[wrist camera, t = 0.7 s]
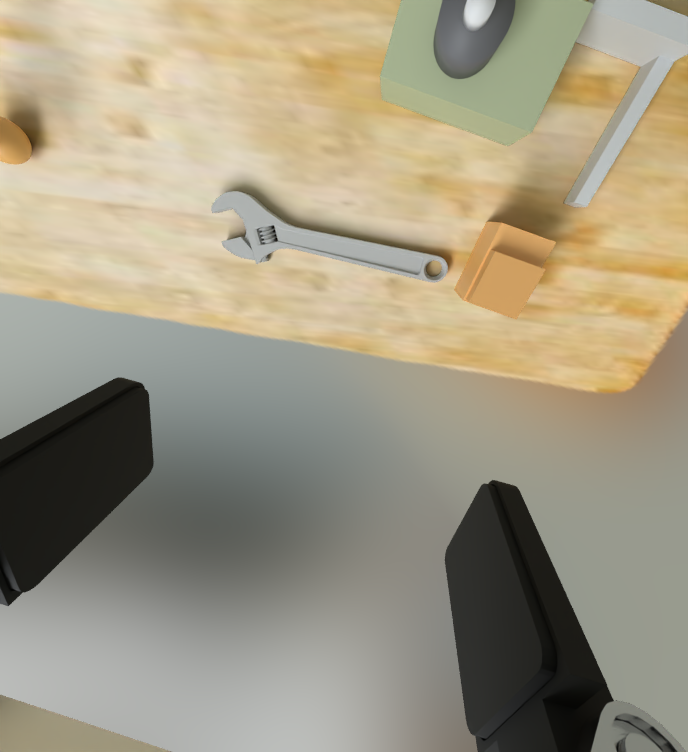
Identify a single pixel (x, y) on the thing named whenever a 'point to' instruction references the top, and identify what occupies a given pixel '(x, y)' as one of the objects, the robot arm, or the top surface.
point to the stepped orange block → (503, 268)
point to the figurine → (13, 143)
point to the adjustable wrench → (315, 241)
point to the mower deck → (525, 64)
